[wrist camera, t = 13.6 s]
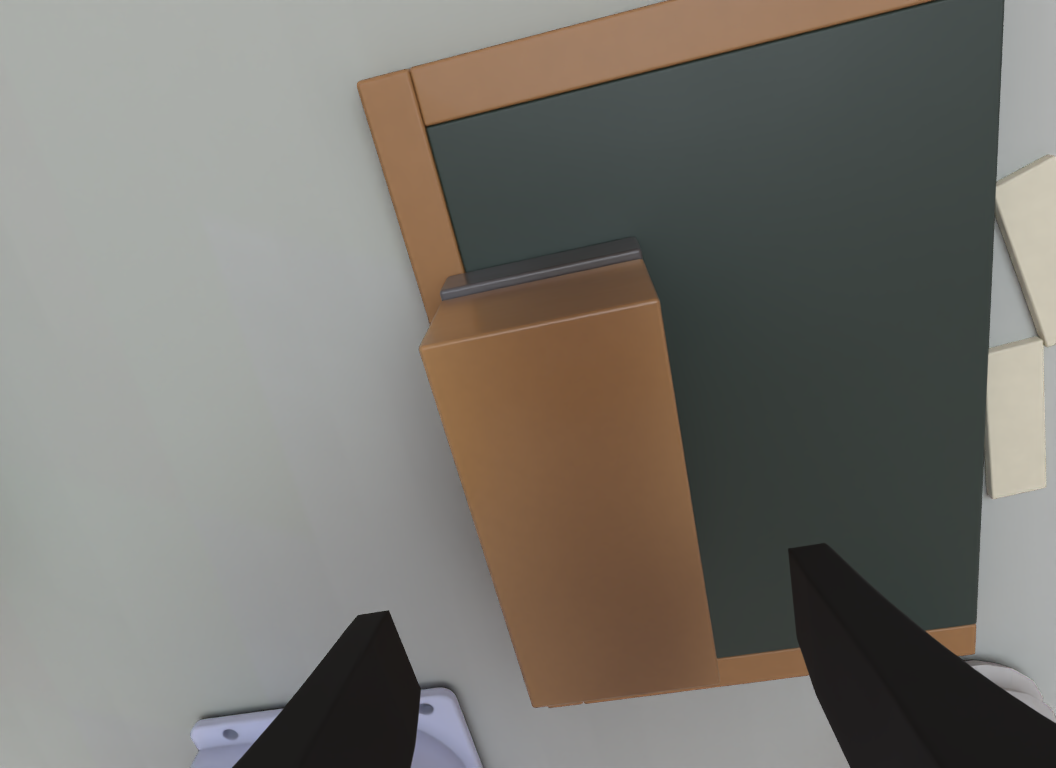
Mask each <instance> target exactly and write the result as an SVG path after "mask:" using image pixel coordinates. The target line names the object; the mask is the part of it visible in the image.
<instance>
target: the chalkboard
mask: <svg viewBox="0 0 1056 768" xmlns="http://www.w3.org/2000/svg"><path fill="white" fill-rule="evenodd" d="M1003 21H1004V0H667V1H664V2H660V3H656V4H652V5H648V6H644V7H641V8H637V9H633V10H629V11H625V12H621V13H618V14H614V15H610V16H606V17H602V18H598V19H595V20H591V21H587V22H583V23H579V24H575V25H572V26H568V27H564V28H560V29H556V30H552V31H549V32H545V33H541V34H537V35H533V36H529V37H526V38H522V39H518V40H514V41H510V42H506V43H503V44H499V45H495V46H491V47H487V48H484V49H480V50H476V51H472V52H468V53H464V54H461V55H457V56H453V57H449V58H445V59H441V60H438V61H434V62H430V63H426V64H422V65H418V66H415V67H412V68H411V69H403V70H399V71H396V72H392V73H388V74H384V75H380V76H376V77H373V78H369V79H365V80H361V81H359V82H358V83H357V89H358V92H359V95H360V98H361V102H362V105H363V108H364V111H365V115H366V118H367V121H368V124H369V128H370V131H371V134H372V137H373V141H374V144H375V147H376V150H377V154H378V157H379V160H380V163H381V167H382V170H383V173H384V177H385V180H386V183H387V186H388V190H389V193H390V196H391V199H392V203H393V206H394V209H395V212H396V216H397V219H398V222H399V225H400V229H401V232H402V235H403V238H404V242H405V245H406V248H407V251H408V255H409V258H410V261H411V264H412V268H413V271H414V274H415V277H416V281H417V284H418V287H419V290H420V294H421V297H422V300H423V303H424V307H425V310H426V313H427V316H428V320H429V323H430V324H431V322H432V320H433V318H434V316H435V314H436V312H437V310H438V308H439V306H440V304H441V302H442V300H441V297H440V290H441V289H442V287H443V285H444V283H445V281H446V279H447V278H448V277H449V276H453V275H458V274H463V273H467V272H472V271H476V270H481V269H486V268H490V267H495V266H500V265H504V264H509V263H513V262H518V261H523V260H527V259H532V258H537V257H541V256H546V255H550V254H555V253H560V252H564V251H569V250H574V249H578V248H583V247H588V246H592V245H597V244H601V243H606V242H611V241H615V240H620V239H625V238H629V237H635V238H636V239H637V241H638V243H639V246H640V248H641V251H642V256H643V261H644V263H645V266H646V268H647V271H648V273H649V276H650V278H651V280H652V283H653V285H654V288H655V290H656V293H657V295H658V298H659V300H660V305H661V311H662V318H663V324H664V330H665V336H666V343H667V349H668V355H669V361H670V368H671V374H672V380H673V387H674V393H675V399H676V405H677V412H678V418H679V424H680V431H681V437H682V443H683V449H684V456H685V462H686V468H687V475H688V481H689V487H690V493H691V500H692V506H693V512H694V518H695V525H696V531H697V537H698V544H699V550H700V556H701V562H702V569H703V575H704V581H705V588H706V594H707V600H708V606H709V613H710V619H711V625H712V632H713V638H714V644H715V650H716V657H717V663H718V669H719V676H720V683H719V684H718V685H710V686H703V687H695V688H687V689H679V690H671V691H663V692H656V693H648V694H640V695H632V696H624V697H616V698H608V699H601V700H593V701H585V702H584V703H585V704H588V703H596V702H604V701H612V700H619V699H627V698H635V697H643V696H651V695H659V694H667V693H674V692H682V691H690V690H698V689H706V688H714V687H721V686H729V685H737V684H745V683H753V682H761V681H768V680H776V679H784V678H792V677H800V676H808V675H809V673H808V670H807V667H806V664H805V661H804V658H803V655H802V652H801V649H800V646H799V643H798V640H797V637H796V626H795V616H794V606H793V596H792V585H791V575H790V565H789V555H788V548H795V547H801V546H808V545H814V544H820V543H826V544H827V545H829V546H830V547H832V548H833V549H834V550H835V551H836V552H837V553H838V554H839V555H840V556H841V557H842V558H843V559H844V560H845V561H846V562H847V563H848V564H849V565H850V566H851V567H852V568H853V569H854V570H856V571H857V572H858V573H859V574H860V575H861V576H862V577H863V578H864V579H865V580H866V581H867V582H869V583H870V584H871V585H872V586H873V587H874V588H875V589H876V590H877V591H879V592H880V593H881V594H882V595H883V596H884V597H885V598H886V599H888V600H889V601H890V602H891V603H892V604H893V605H895V606H896V607H897V608H898V609H899V610H900V611H902V612H903V613H904V614H905V615H907V616H908V617H909V618H910V619H911V620H913V621H914V622H915V623H916V624H917V625H919V626H920V627H921V628H922V629H923V630H925V631H926V632H927V633H928V634H930V635H931V636H932V637H933V638H935V639H936V640H937V641H938V642H940V643H941V644H942V645H944V646H945V647H946V648H947V649H949V650H950V651H951V652H953V653H954V654H955V655H957V656H964V655H972V654H975V642H976V619H977V597H978V575H979V552H980V530H981V508H982V486H983V464H984V442H985V419H986V397H987V375H988V353H989V331H990V309H991V287H992V264H993V242H994V220H995V198H996V176H997V154H998V132H999V109H1000V87H1001V65H1002V43H1003ZM582 703H583V702H577V703H569V704H561V705H554V706H548V708H554V707H562V706H570V705H577V704H582Z"/></svg>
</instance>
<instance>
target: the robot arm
mask: <svg viewBox="0 0 1056 768" xmlns="http://www.w3.org/2000/svg"><path fill="white" fill-rule="evenodd" d="M788 555H789V565H790V575H791V585H792V596H793V606H794V616H795V626H796V637H797V640H798V643H799V646H800V649H801V652H802V655H803V658H804V661H805V664H806V667H807V670H808V673H809V676H810V678H811V681H812V684H813V687H814V690H815V693H816V695H817V698H818V700H819V702H820V704H821V706H822V708H823V711H824V713H825V715H826V717H827V719H828V721H829V723H830V725H831V728H832V730H833V732H834V734H835V736H836V738H837V740H838V742H839V745H840V747H841V749H842V751H843V753H844V755H845V757H846V759H847V761H848V763H849V766H850V768H1056V723H1055V722H1053V721H1052V720H1050V719H1048V718H1047V717H1045V716H1044V715H1042V714H1040V713H1039V712H1037V711H1036V710H1034V709H1033V708H1031V707H1030V706H1028V705H1027V704H1025V703H1024V702H1022V701H1020V700H1019V699H1017V698H1016V697H1014V696H1013V695H1011V694H1010V693H1008V692H1007V691H1005V690H1004V689H1002V688H1001V687H1000V686H998V685H997V684H995V683H994V682H992V681H991V680H990V679H988V678H987V677H985V676H984V675H983V674H981V673H980V672H978V671H977V670H976V669H974V668H973V667H971V666H970V665H969V664H967V663H966V662H965V661H963V660H962V659H961V658H959V657H958V656H957V655H955V654H954V653H953V652H951V651H950V650H949V649H947V648H946V647H945V646H944V645H942V644H941V643H940V642H938V641H937V640H936V639H935V638H933V637H932V636H931V635H930V634H928V633H927V632H926V631H925V630H923V629H922V628H921V627H920V626H919V625H917V624H916V623H915V622H914V621H913V620H911V619H910V618H909V617H908V616H907V615H905V614H904V613H903V612H902V611H900V610H899V609H898V608H897V607H896V606H895V605H893V604H892V603H891V602H890V601H889V600H888V599H886V598H885V597H884V596H883V595H882V594H881V593H880V592H879V591H877V590H876V589H875V588H874V587H873V586H872V585H871V584H870V583H869V582H867V581H866V580H865V579H864V578H863V577H862V576H861V575H860V574H859V573H858V572H857V571H856V570H854V569H853V568H852V567H851V566H850V565H849V564H848V563H847V562H846V561H845V560H844V559H843V558H842V557H841V556H840V555H839V554H838V553H837V552H836V551H835V550H834V549H833V548H832V547H830V546H829V545H827V544H826V543H820V544H814V545H808V546H801V547H795V548H788ZM424 703H426V704H424ZM428 704H429V705H428ZM190 736H191V739H192V740H193V742H194V744H195V745H196V747H197V749H198V750H199V751H198V753H197V755H196V757H195V759H194V761H193V763H192V765H191V767H190V768H483V766H482V763H481V761H480V758H479V755H478V753H477V750H476V747H475V745H474V742H473V740H472V737H471V734H470V732H469V729H468V726H467V724H466V721H465V718H464V716H463V713H462V711H461V708H460V705H459V703H458V700H457V697H456V695H455V694H454V693H453V692H452V691H451V690H449V689H447V688H441V687H438V688H430V689H423V690H421V689H420V686H419V684H418V681H417V679H416V676H415V674H414V672H413V669H412V667H411V664H410V662H409V659H408V657H407V654H406V652H405V649H404V647H403V644H402V642H401V639H400V637H399V634H398V632H397V630H396V627H395V625H394V622H393V620H392V617H391V615H390V612H389V610H388V611H382V612H375V613H369V614H362V615H358V616H357V617H356V618H355V619H354V620H353V622H352V623H351V624H350V625H349V627H348V628H347V629H346V630H345V632H344V633H343V634H342V635H341V637H340V638H339V639H338V640H337V642H336V643H335V644H334V646H333V647H332V648H331V649H330V651H329V652H328V653H327V655H326V656H325V657H324V658H323V660H322V661H321V662H320V664H319V665H318V666H317V667H316V669H315V670H314V671H313V673H312V674H311V675H310V676H309V678H308V679H307V680H306V681H305V683H304V684H303V685H302V686H301V688H300V689H299V690H298V691H297V693H296V694H295V695H294V696H293V698H292V699H291V700H290V701H289V703H288V704H287V705H286V706H285V707H284V708H282V709H275V710H267V711H260V712H252V713H245V714H237V715H230V716H223V717H215V718H208V719H202V720H199V721H197V722H196V723H195V724H194V726H193V728H192V730H191V733H190Z"/></svg>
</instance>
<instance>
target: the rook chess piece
mask: <svg viewBox="0 0 1056 768" xmlns="http://www.w3.org/2000/svg"><path fill="white" fill-rule="evenodd" d="M965 662H966V663H967V664H969V665H970V666H971V667H973V668H974V669H976V670H977V671H978V672H980V673H981V674H983V675H984V676H985V677H987V678H988V679H990V680H991V681H992V682H994V683H995V684H997V685H998V686H1000V687H1001V688H1002V689H1004V690H1005V691H1007V692H1008V693H1010V694H1011V695H1013V696H1014V697H1016V698H1017V699H1019V700H1020V701H1022V702H1024V703H1025V704H1027V705H1028V706H1030V707H1031V708H1033V709H1034V710H1036V711H1037V712H1039V713H1040V714H1042V715H1044V716H1045V717H1047V718H1048V719H1050V720H1052V721H1053V722H1055V723H1056V716H1055V714H1054V713H1053V711H1052V709H1051V707H1050V706H1049V705H1048V704H1046V703H1044V702H1043V696H1042V694H1041V692H1040V691H1039V689H1038V687H1037V686H1036V684H1035V682H1034V680H1032V679H1030V678H1028V677H1027V676H1025V675H1023V674H1021V673H1020V672H1018V671H1016V670H1014V669H1012V668H1009V667H1006V666H1003V665H1000V664H997V663H991V662H984V661H978V660H970V661H965Z"/></svg>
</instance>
